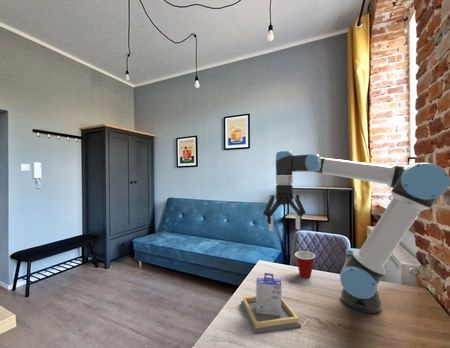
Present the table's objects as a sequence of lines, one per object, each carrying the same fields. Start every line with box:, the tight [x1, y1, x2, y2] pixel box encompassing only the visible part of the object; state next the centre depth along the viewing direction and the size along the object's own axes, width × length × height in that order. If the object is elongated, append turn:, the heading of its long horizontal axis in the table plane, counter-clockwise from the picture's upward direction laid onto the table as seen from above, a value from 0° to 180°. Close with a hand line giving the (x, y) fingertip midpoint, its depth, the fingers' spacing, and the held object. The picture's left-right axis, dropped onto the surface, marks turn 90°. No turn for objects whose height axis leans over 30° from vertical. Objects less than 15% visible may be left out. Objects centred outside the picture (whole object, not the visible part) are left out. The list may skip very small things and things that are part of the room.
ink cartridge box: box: [255, 272, 283, 316], centre depth 88 cm, size 10×6×14 cm, turn 79°
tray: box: [240, 296, 302, 334], centre depth 88 cm, size 18×18×3 cm
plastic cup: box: [294, 250, 316, 279], centre depth 122 cm, size 11×11×12 cm
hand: (284, 230), depth 103 cm, fingers open, 13 cm apart
